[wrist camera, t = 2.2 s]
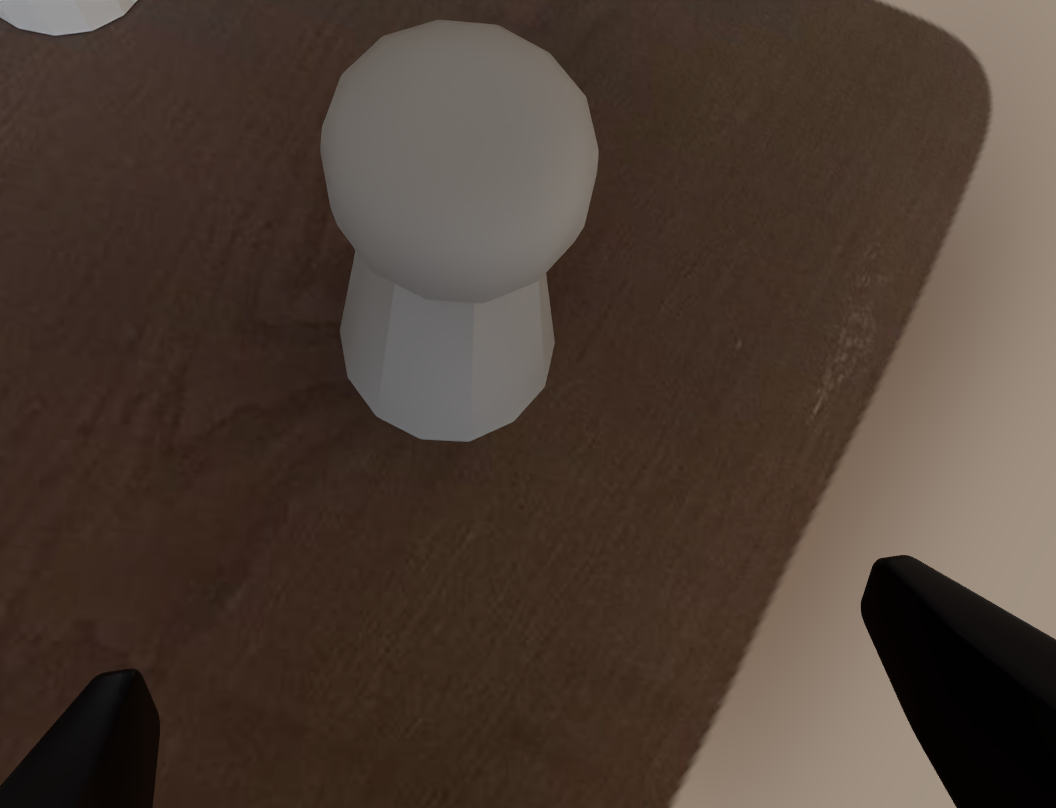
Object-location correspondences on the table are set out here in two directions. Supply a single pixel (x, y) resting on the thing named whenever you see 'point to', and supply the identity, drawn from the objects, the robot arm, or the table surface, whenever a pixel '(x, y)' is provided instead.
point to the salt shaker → (454, 220)
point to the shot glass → (62, 14)
